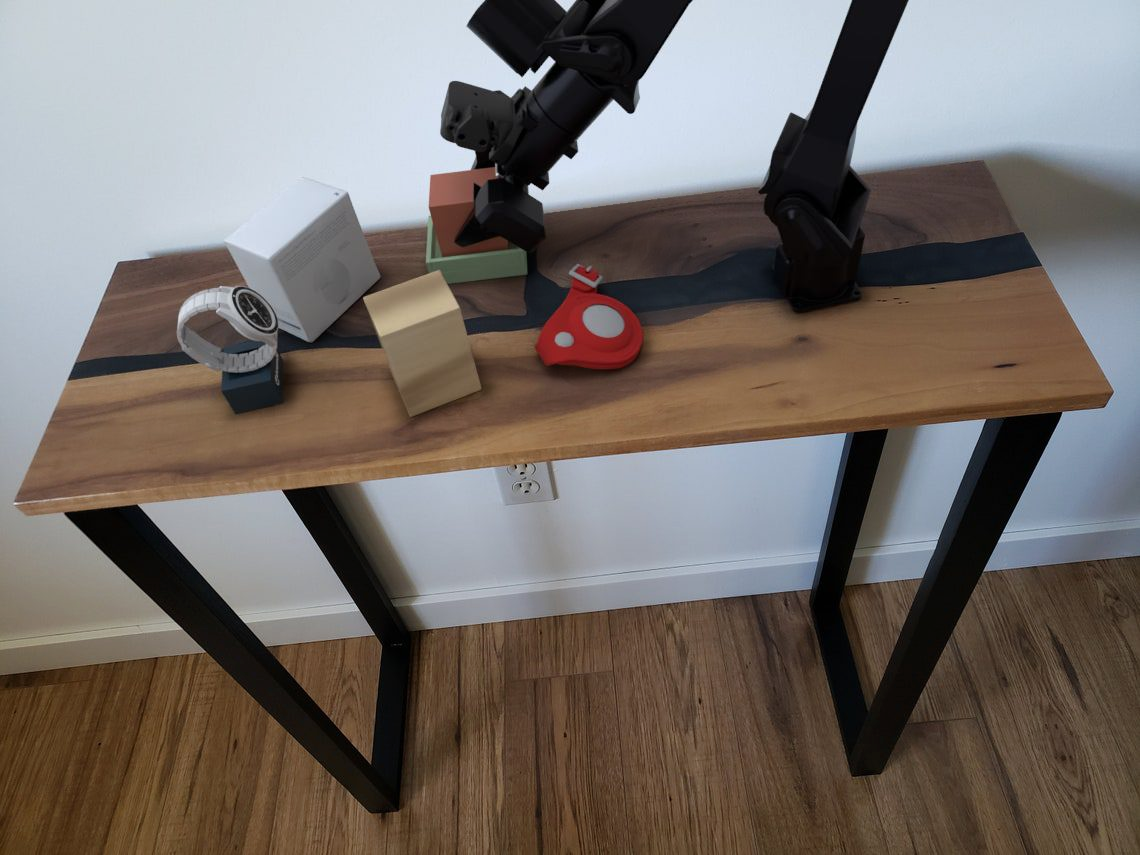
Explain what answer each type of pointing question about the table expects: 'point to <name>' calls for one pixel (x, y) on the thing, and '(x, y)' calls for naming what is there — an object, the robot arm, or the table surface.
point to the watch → (238, 346)
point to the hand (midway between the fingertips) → (458, 226)
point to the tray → (474, 262)
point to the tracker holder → (590, 328)
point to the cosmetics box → (305, 257)
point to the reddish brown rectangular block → (458, 210)
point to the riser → (424, 342)
